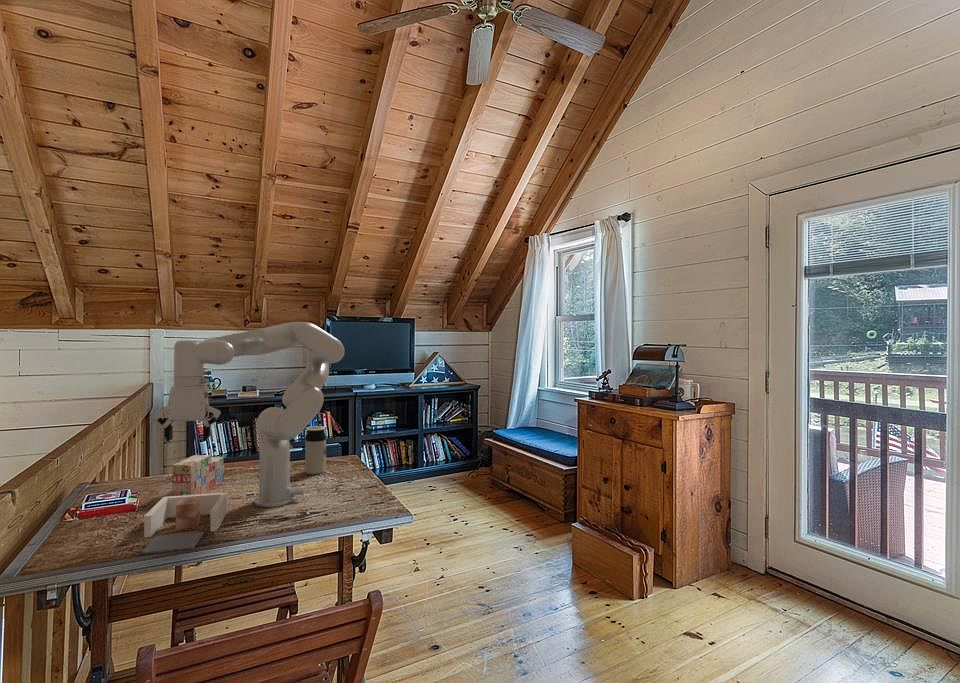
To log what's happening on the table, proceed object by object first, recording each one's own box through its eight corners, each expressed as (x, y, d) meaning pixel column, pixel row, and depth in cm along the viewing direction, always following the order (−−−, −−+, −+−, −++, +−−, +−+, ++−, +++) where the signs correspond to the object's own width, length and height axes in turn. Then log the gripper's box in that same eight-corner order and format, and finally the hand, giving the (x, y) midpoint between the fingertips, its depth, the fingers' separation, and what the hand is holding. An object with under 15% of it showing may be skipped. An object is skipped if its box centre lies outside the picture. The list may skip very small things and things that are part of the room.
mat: (204, 533, 139) (204, 531, 139) (194, 549, 129) (194, 547, 129) (155, 538, 136) (155, 536, 136) (141, 554, 126) (141, 552, 126)
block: (199, 520, 148) (199, 497, 148) (195, 527, 143) (195, 503, 143) (181, 522, 147) (181, 499, 146) (175, 529, 142) (175, 505, 142)
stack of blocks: (207, 480, 186) (208, 448, 186) (224, 481, 186) (224, 448, 186) (172, 500, 165) (172, 464, 165) (190, 501, 165) (190, 464, 164)
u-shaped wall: (228, 510, 156) (228, 492, 156) (216, 531, 141) (216, 510, 141) (163, 516, 151) (163, 496, 151) (144, 537, 136) (144, 516, 136)
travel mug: (301, 473, 196) (301, 429, 196) (311, 468, 204) (311, 425, 204) (319, 475, 195) (320, 430, 195) (329, 469, 203) (329, 426, 202)
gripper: (224, 380, 151) (223, 436, 151) (160, 380, 147) (159, 437, 147) (217, 383, 144) (216, 441, 144) (150, 383, 139) (149, 443, 140)
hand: (187, 439), depth 145 cm, fingers open, 9 cm apart
